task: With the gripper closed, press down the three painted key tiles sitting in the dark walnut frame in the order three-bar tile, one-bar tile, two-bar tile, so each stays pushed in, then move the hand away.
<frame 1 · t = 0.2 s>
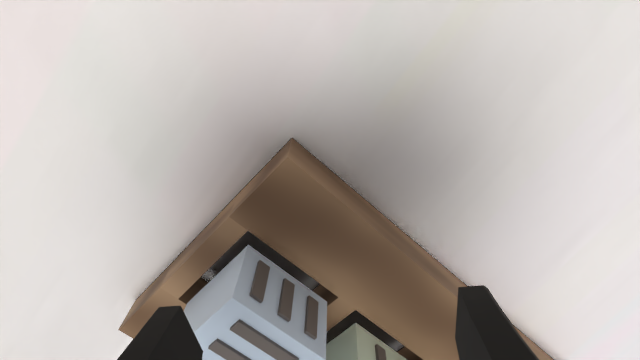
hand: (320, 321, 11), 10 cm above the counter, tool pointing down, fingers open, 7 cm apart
tile three: (251, 329, 20), point 4 cm above the counter, slide at 0.0 cm
frame: (354, 334, 26), on the counter
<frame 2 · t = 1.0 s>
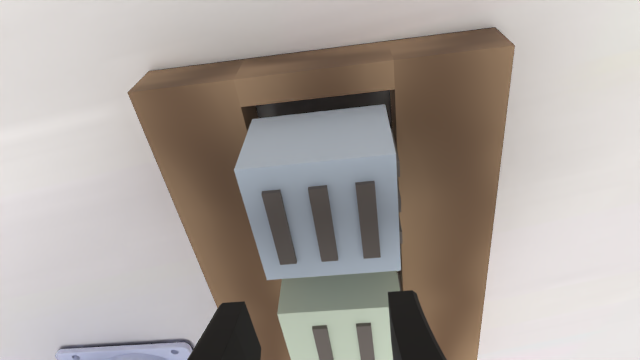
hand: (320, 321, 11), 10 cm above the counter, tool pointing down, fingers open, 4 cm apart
tile three: (327, 194, 16), point 4 cm above the counter, slide at 0.0 cm
frame: (343, 249, 23), on the counter
tile two: (346, 315, 20), point 4 cm above the counter, slide at 0.0 cm
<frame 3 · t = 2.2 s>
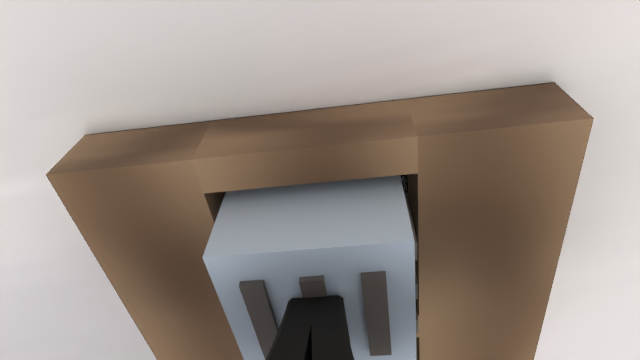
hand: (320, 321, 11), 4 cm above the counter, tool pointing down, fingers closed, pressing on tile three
tile three: (324, 270, 13), point 3 cm above the counter, slide at -1.7 cm, touching gripper
frame: (344, 337, 19), on the counter
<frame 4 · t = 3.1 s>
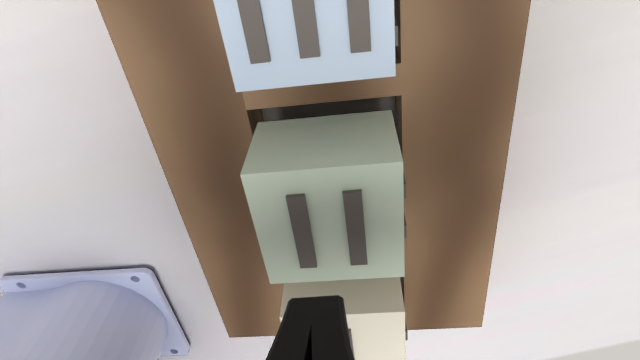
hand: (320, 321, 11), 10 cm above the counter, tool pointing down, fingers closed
frame: (331, 140, 19), on the counter
tile one: (347, 319, 20), point 4 cm above the counter, slide at 0.0 cm
tile two: (332, 199, 16), point 4 cm above the counter, slide at 0.0 cm
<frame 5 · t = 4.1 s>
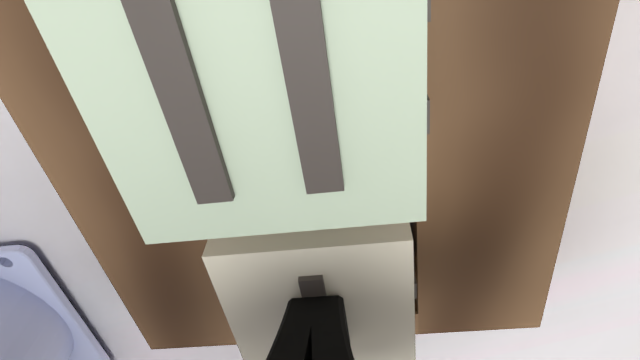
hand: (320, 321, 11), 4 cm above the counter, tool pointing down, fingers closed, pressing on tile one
frame: (287, 3, 11), on the counter
tile one: (323, 270, 13), point 3 cm above the counter, slide at -1.7 cm, touching gripper
tile two: (268, 60, 7), point 4 cm above the counter, slide at 0.0 cm
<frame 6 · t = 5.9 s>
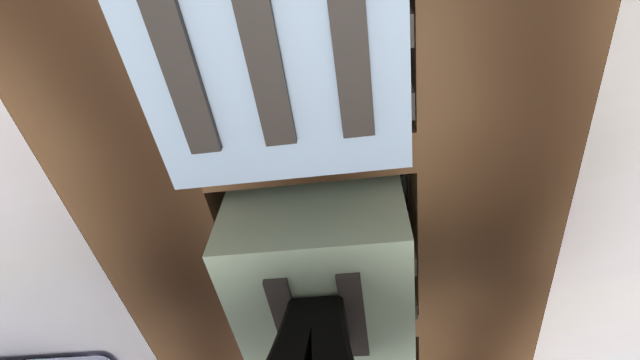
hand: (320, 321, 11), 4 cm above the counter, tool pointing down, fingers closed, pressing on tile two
tile three: (280, 33, 9), point 3 cm above the counter, slide at -1.7 cm
frame: (323, 214, 15), on the counter
tile two: (324, 270, 13), point 3 cm above the counter, slide at -1.7 cm, touching gripper
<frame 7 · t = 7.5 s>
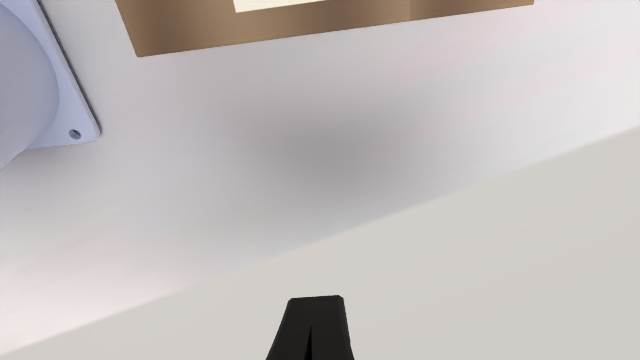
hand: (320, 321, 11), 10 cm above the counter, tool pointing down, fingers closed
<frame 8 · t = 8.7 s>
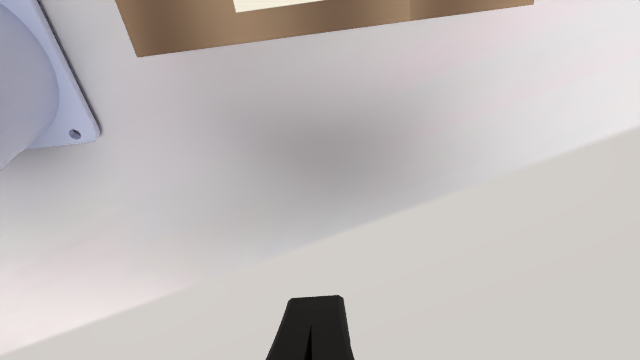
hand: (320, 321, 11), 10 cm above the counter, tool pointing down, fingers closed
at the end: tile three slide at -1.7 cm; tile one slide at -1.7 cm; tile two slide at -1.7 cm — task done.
